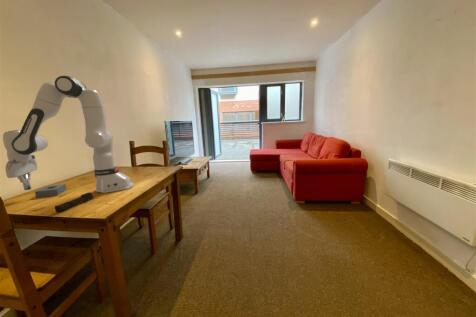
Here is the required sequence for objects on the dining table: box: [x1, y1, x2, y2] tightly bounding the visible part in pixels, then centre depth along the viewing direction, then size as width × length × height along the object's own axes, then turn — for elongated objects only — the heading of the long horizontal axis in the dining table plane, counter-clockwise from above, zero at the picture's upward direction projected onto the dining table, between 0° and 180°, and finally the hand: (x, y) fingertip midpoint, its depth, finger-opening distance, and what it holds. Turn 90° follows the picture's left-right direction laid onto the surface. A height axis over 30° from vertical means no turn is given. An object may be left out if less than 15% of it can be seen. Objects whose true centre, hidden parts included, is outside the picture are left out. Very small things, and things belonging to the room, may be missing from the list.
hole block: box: [34, 183, 67, 199], centre depth 131 cm, size 11×11×4 cm
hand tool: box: [54, 192, 94, 213], centre depth 111 cm, size 19×4×5 cm, turn 162°
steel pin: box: [22, 173, 32, 191], centre depth 122 cm, size 3×3×10 cm
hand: (25, 181), depth 122 cm, fingers closed on steel pin, 3 cm apart
